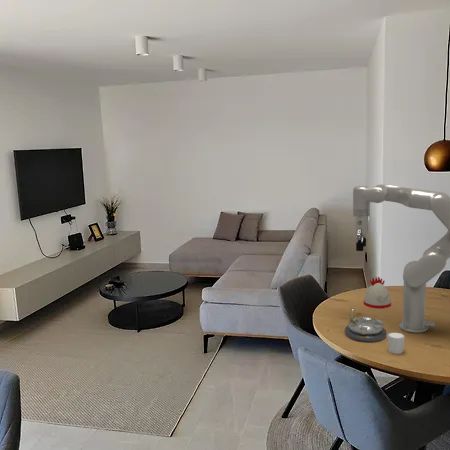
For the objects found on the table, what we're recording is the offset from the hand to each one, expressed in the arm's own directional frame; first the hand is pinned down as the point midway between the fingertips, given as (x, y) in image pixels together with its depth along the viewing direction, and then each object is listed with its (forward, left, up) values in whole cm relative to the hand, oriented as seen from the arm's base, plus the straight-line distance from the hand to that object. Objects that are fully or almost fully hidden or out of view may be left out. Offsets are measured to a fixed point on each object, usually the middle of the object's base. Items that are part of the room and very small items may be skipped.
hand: (361, 248), depth 228 cm
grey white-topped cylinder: (-18, +28, -37) cm, 50 cm away
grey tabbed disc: (-4, +14, -34) cm, 37 cm away
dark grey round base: (-4, +14, -37) cm, 39 cm away
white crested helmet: (-5, -29, -37) cm, 47 cm away
